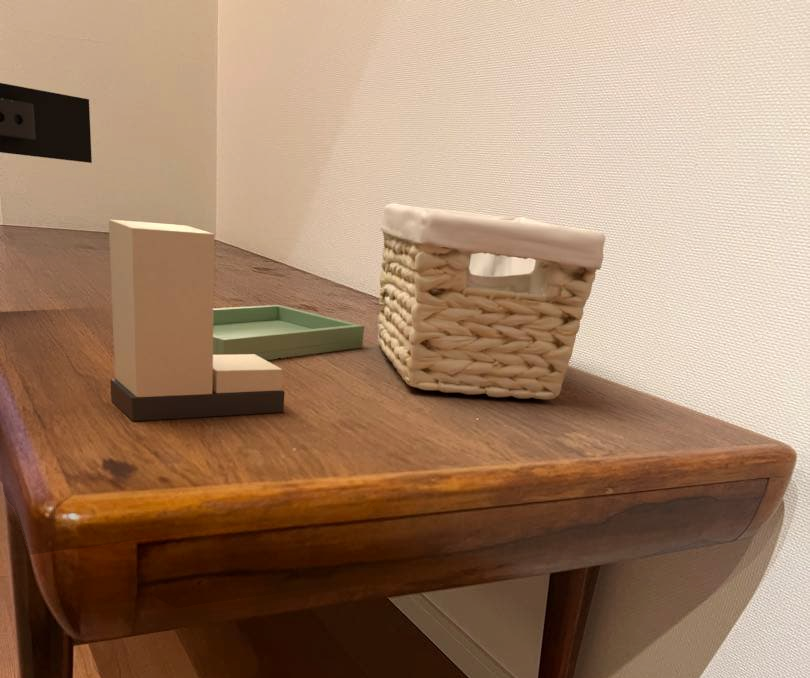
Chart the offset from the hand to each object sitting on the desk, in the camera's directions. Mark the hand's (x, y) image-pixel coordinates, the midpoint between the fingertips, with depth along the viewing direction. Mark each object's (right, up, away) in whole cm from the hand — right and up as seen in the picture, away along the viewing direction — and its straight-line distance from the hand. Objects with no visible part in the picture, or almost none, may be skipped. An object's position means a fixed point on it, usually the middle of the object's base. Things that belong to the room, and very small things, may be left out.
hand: (7, 122), depth 41 cm
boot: (+6, -12, +16) cm, 21 cm away
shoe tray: (+5, -2, +38) cm, 39 cm away
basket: (+26, -5, +37) cm, 46 cm away
